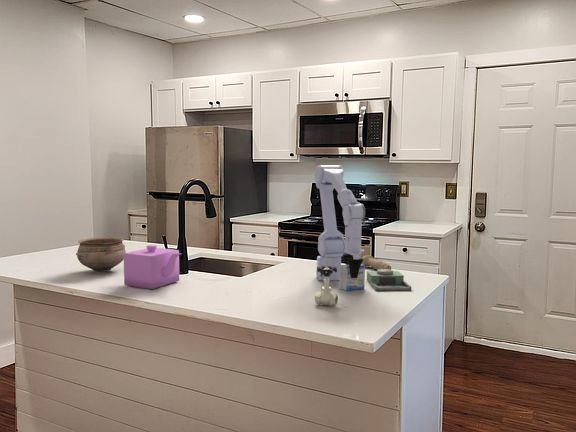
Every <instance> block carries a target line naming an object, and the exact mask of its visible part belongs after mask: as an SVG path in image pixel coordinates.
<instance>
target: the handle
mask: <svg viewBox="0 0 576 432" xmlns="http://www.w3.org/2000/svg"><path fill="white" fill-rule="evenodd" d="M360 259H363V262H362V264H363V265H365V268H370V267H371V268H373V269H375V270H376V271H377V270H379V269H389V270H392V266H391V265H390V264H388V263H386V262H385V261H381V260H379V259H375V258H374V256H372V255H368V254H367V255H363V256H362V257H360Z"/></svg>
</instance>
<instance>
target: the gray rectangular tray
mask: <svg viewBox="0 0 576 432" xmlns="http://www.w3.org/2000/svg"><path fill="white" fill-rule="evenodd" d="M370 286H371V287H372V289H373V290H374V291H375V292H402V291H403V292H406V291H407V292H408V291H409V292H410V291H412V286H411V285H410V284H409V283H408V282H407V281H405V280H404V281H402V284H375V283H374V282H373V281H371V284H370Z"/></svg>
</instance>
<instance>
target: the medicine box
mask: <svg viewBox="0 0 576 432" xmlns="http://www.w3.org/2000/svg"><path fill="white" fill-rule="evenodd" d="M365 272H366V267H365V265H363V264H361V266H360V269H359V273H358V277H357V278H351V276H350V268H349V264H347V265H346V264H341V265H340V280H339V289H341V290H343V291H346V292H349V291H355V290H364V289H365V283H366V282H365V278H366V277H365V276H366V275H365Z"/></svg>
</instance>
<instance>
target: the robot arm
mask: <svg viewBox="0 0 576 432" xmlns="http://www.w3.org/2000/svg"><path fill="white" fill-rule="evenodd" d="M314 180H315V186H316V188H317V189H319V195H320V196H319V197H320V204H321V211H322V222H323V232H322V233H321V234H320V235H319V236H318V240H317V241H318V242H317V243H318V244H317V251H318V253H319V255H318V256H317V257H316V268H317V267H321V266H325V267H328V266H331V267H336V268H337V272H335V271H333V273H332V274H330V276H329V277H328V279H329V280H330V281H340V265H342V257H343V259H344V261H345V265H347V264H349V268H350V276H351V278H357V277H358V273H359V269H360V266H361V264H362V262H363V259H361V257H360V255H361V254H362V253H363V254H364V253H365V249H362V224H363V220H364V219H365V216H366V207H365V206H364V204H363V203H360V202H358V200H357V199H356V197H355V195H354V194H353V191H352V190H350V189H348V188H347V186H346V183H345V180H344V168H343V167H342V165H341V164H338V165H330V164H329V165H327V164H324V165H321V164H318V165H317V166H316V167H315V171H314ZM334 189H335V191H336V192H337V196H336V197H337V200H338V203H339V204H340V206H341V208H342V217H343V223H344V224H343V225H344V227H345V228H344V234H343V232H341V231H340V230H338V227H337V226H338V225H337V217H336V209H335V202H334V201H335V200H334V193H333V191H334ZM315 273H316V274H315V275H316V278H317V280H318V281H324V279H325V276H324V275H323V274H321V273H320V272H317V270H316V272H315Z"/></svg>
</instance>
